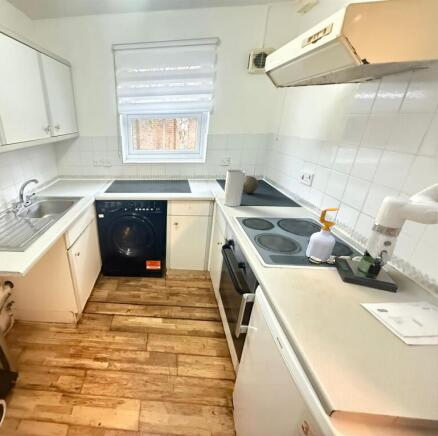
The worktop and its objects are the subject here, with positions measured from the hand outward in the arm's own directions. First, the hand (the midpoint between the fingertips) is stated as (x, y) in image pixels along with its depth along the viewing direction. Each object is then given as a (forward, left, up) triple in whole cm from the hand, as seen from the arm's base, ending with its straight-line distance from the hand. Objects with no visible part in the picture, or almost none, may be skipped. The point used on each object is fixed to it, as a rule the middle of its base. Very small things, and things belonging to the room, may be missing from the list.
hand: (368, 268), depth 96 cm
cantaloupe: (+51, -105, +4) cm, 117 cm away
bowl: (0, 0, -1) cm, 1 cm away
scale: (+1, 0, -4) cm, 4 cm away
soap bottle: (+15, -9, -4) cm, 18 cm away
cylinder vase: (+60, -71, -4) cm, 94 cm away
